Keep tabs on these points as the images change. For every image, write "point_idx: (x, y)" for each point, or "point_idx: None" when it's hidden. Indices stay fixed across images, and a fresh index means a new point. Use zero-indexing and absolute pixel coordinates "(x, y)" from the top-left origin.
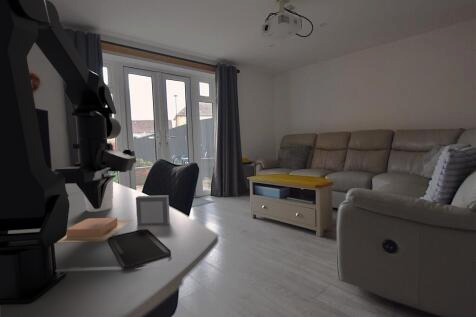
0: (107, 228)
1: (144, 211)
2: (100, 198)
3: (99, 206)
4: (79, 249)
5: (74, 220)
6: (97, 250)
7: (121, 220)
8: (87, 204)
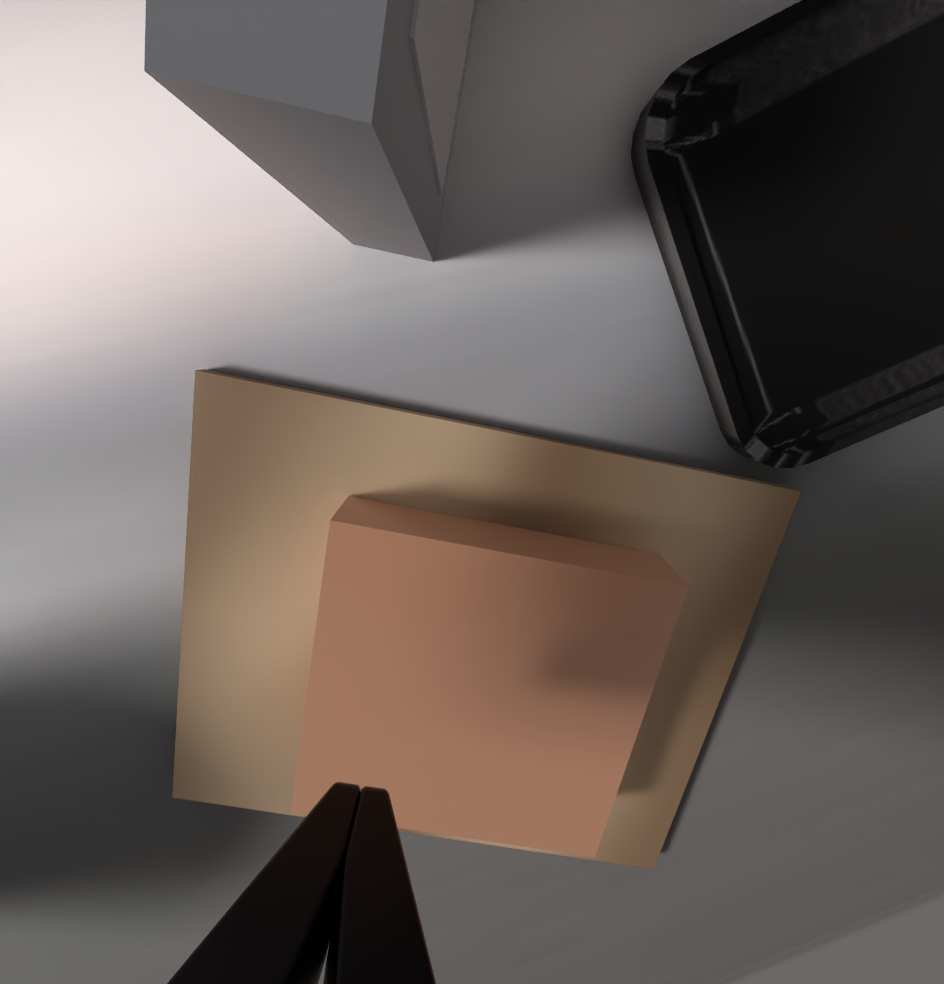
0: (550, 543)
1: (442, 60)
2: (349, 921)
3: (376, 804)
4: (830, 629)
5: (105, 900)
6: (917, 492)
7: (203, 491)
8: None
